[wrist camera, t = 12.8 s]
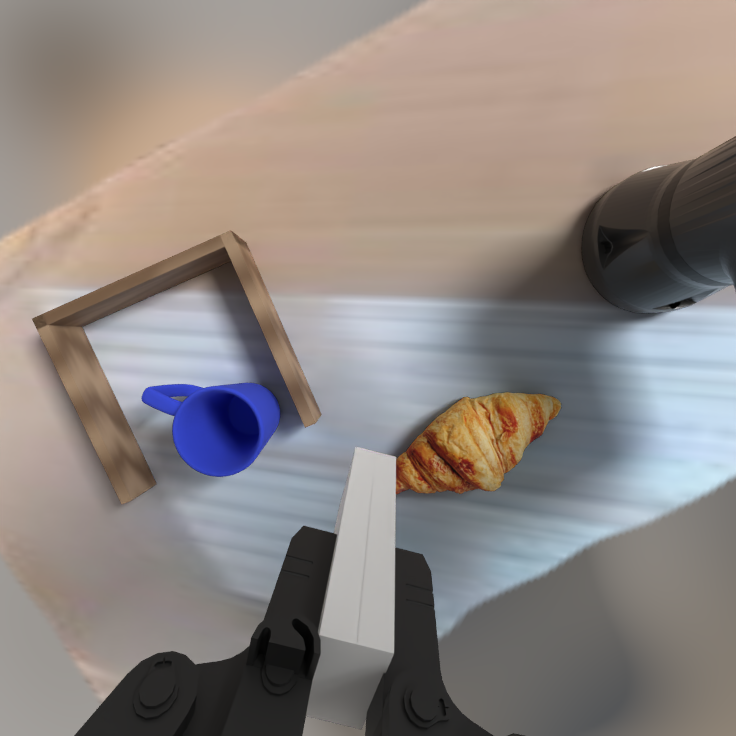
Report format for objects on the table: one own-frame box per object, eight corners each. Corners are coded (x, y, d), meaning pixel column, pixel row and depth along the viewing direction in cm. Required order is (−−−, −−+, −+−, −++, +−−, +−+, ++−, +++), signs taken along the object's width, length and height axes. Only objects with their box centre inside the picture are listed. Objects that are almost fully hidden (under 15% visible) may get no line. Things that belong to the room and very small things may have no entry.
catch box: (321, 414, 43) (315, 423, 38) (147, 487, 44) (121, 504, 39) (246, 242, 41) (230, 230, 37) (68, 321, 42) (31, 318, 38)
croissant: (526, 374, 46) (540, 347, 39) (579, 446, 42) (606, 432, 34) (375, 453, 46) (360, 441, 39) (413, 533, 42) (404, 537, 35)
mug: (203, 350, 42) (152, 353, 32) (299, 393, 43) (278, 409, 33) (176, 414, 43) (117, 436, 33) (271, 457, 43) (241, 492, 33)
